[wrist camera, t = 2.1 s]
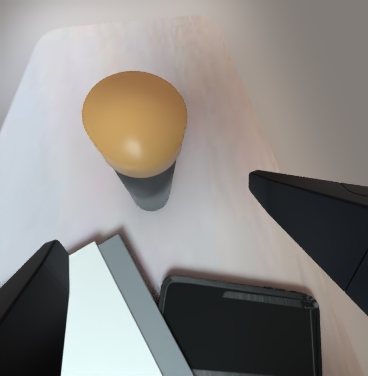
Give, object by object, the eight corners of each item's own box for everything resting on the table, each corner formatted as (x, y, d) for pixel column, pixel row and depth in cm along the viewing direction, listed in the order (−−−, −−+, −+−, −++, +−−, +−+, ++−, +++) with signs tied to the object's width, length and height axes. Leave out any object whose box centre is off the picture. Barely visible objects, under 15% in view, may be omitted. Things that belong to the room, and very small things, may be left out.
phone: (323, 398, 16) (146, 381, 15) (313, 388, 17) (147, 372, 16) (318, 295, 18) (164, 273, 17) (309, 292, 19) (163, 271, 18)
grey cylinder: (176, 200, 20) (206, 132, 7) (143, 219, 19) (112, 178, 6) (158, 169, 20) (156, 59, 8) (125, 187, 19) (64, 92, 7)
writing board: (224, 431, 15) (228, 442, 14) (78, 576, 12) (72, 601, 12) (117, 229, 18) (115, 229, 17) (-21, 308, 15) (-32, 312, 14)
